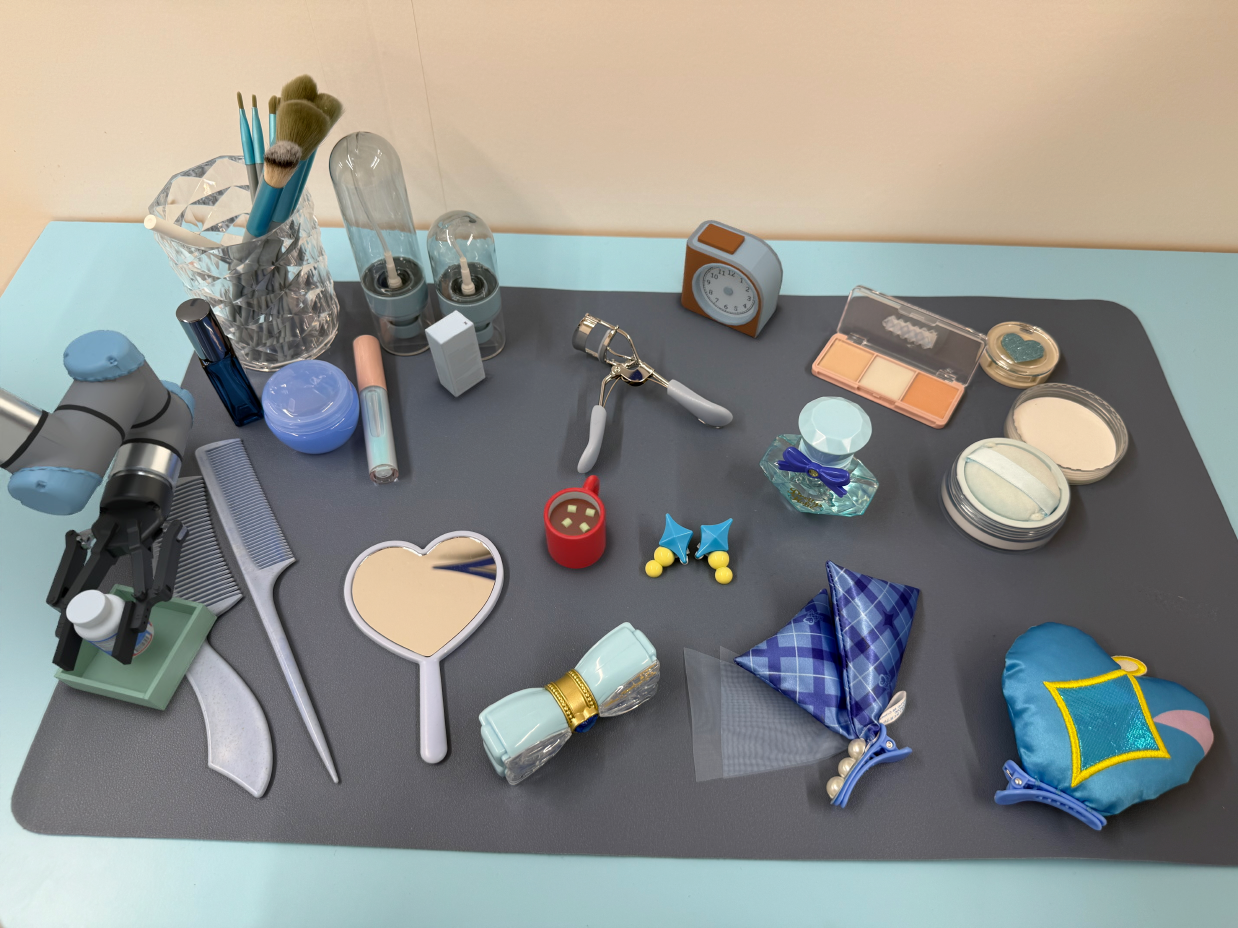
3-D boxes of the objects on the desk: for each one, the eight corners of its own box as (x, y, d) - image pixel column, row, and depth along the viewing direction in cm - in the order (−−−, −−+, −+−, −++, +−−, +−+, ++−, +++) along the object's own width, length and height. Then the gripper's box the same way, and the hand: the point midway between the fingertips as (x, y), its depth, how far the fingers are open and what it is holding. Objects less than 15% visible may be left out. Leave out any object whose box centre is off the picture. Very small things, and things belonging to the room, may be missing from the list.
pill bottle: (107, 626, 93) (60, 591, 85) (155, 612, 94) (112, 576, 86) (107, 667, 90) (57, 635, 82) (155, 652, 91) (111, 619, 83)
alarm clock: (675, 306, 131) (681, 241, 120) (699, 277, 135) (707, 212, 124) (754, 339, 127) (767, 275, 116) (776, 308, 131) (791, 244, 120)
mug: (621, 501, 108) (621, 470, 102) (595, 575, 102) (594, 546, 95) (568, 488, 110) (565, 456, 103) (539, 560, 103) (534, 530, 97)
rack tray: (73, 687, 93) (52, 676, 89) (131, 597, 100) (115, 583, 96) (164, 710, 91) (147, 699, 88) (217, 617, 98) (203, 603, 95)
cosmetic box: (469, 364, 123) (457, 308, 113) (486, 378, 122) (475, 323, 112) (438, 384, 121) (423, 329, 111) (455, 399, 119) (441, 344, 109)
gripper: (228, 496, 101) (194, 665, 88) (82, 510, 100) (25, 685, 87) (203, 463, 95) (162, 640, 82) (47, 478, 94) (-20, 660, 81)
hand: (92, 662), depth 84 cm, fingers closed on pill bottle, 5 cm apart
